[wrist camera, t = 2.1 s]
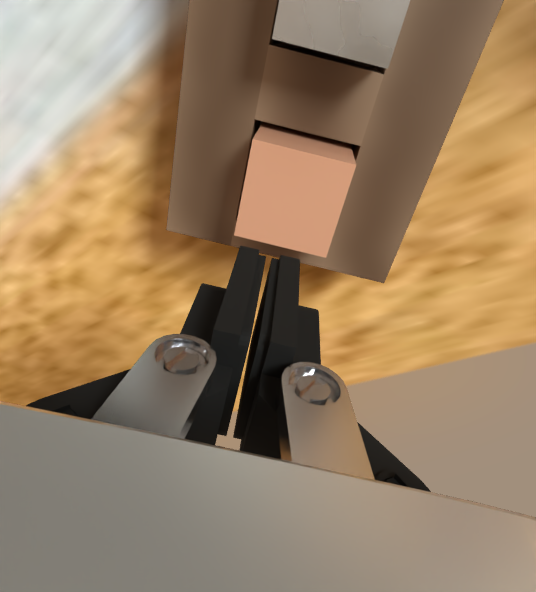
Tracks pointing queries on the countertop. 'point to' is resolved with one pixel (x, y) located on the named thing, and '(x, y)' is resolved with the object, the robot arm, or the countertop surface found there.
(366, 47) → the grey cube
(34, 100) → the countertop surface
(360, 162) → the key panel
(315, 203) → the salmon pink cube
